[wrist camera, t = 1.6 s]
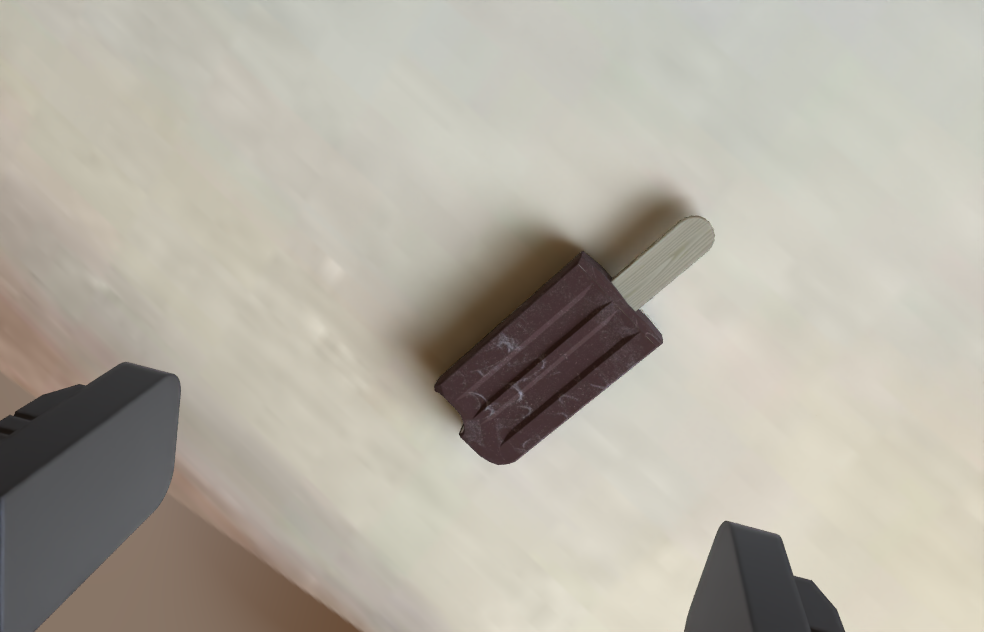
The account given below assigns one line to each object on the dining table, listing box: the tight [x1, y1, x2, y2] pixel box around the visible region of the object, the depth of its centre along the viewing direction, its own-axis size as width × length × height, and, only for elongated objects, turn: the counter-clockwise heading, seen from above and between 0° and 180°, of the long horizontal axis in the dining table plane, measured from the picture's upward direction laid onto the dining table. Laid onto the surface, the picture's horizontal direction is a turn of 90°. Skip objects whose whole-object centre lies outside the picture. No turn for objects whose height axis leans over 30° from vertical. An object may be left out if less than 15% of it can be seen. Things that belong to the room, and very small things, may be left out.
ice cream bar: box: [434, 216, 715, 465], centre depth 37 cm, size 5×2×15 cm
